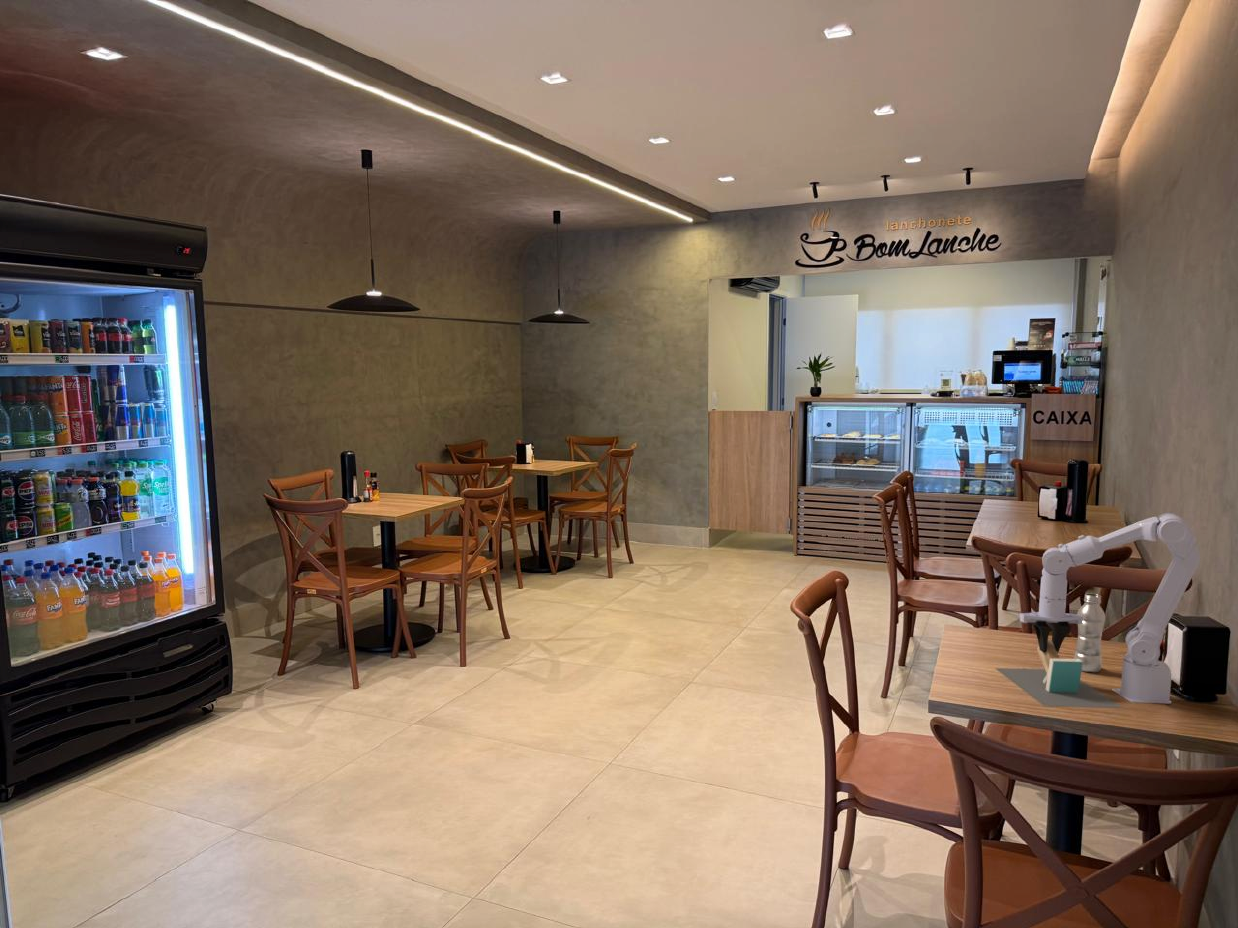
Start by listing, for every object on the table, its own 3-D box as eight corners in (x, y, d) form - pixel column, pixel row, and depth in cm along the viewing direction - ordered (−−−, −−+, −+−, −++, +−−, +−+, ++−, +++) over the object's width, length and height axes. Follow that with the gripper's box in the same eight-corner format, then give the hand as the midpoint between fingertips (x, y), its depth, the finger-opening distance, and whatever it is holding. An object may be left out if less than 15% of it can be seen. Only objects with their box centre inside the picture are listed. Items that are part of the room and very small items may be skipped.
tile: (1074, 689, 199) (1079, 658, 197) (1078, 692, 197) (1083, 661, 195) (1045, 689, 199) (1050, 658, 197) (1049, 692, 197) (1053, 661, 195)
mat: (1064, 671, 214) (1064, 669, 214) (1123, 709, 189) (1123, 707, 189) (994, 669, 214) (994, 668, 214) (1044, 707, 189) (1044, 705, 189)
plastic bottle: (1075, 673, 212) (1081, 596, 210) (1070, 665, 218) (1076, 590, 216) (1104, 676, 210) (1110, 599, 208) (1098, 668, 216) (1104, 593, 214)
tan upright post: (1053, 650, 208) (1058, 640, 206) (1068, 684, 201) (1075, 674, 198) (1029, 649, 208) (1034, 639, 206) (1044, 683, 201) (1049, 674, 198)
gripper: (1073, 593, 207) (1069, 646, 208) (1015, 592, 207) (1011, 645, 208) (1089, 601, 200) (1085, 655, 201) (1029, 599, 200) (1025, 654, 201)
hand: (1048, 651), depth 204 cm, fingers closed on tan upright post, 2 cm apart
